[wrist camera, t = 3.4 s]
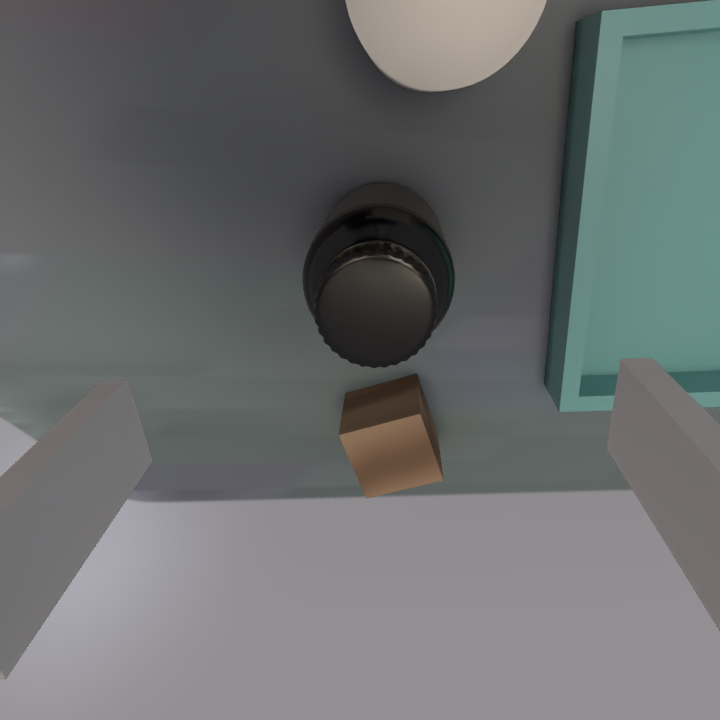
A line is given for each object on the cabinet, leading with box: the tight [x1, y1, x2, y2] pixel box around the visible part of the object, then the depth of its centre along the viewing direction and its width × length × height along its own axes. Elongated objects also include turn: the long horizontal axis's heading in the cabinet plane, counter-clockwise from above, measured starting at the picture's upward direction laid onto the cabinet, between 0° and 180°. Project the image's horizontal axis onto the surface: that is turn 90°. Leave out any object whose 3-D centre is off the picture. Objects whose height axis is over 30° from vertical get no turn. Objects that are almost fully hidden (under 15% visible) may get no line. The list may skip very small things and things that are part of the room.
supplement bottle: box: [303, 183, 455, 368], centre depth 25 cm, size 7×7×12 cm
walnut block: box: [339, 374, 443, 498], centre depth 34 cm, size 5×5×5 cm
